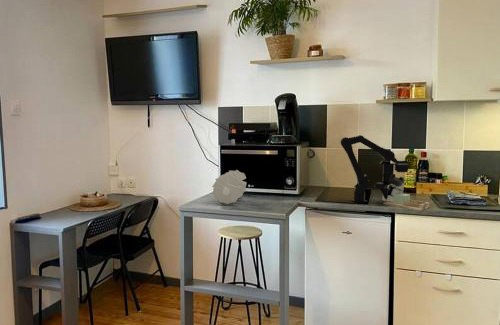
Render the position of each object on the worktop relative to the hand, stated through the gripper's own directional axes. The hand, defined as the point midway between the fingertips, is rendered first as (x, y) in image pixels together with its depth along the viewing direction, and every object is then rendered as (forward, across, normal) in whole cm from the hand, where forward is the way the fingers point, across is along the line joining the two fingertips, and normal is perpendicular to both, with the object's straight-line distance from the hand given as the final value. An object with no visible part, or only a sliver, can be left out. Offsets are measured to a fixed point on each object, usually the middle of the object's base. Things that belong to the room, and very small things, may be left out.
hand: (387, 198), depth 224 cm
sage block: (+1, 0, -5) cm, 5 cm away
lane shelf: (+2, 0, -12) cm, 12 cm away
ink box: (+2, +15, +4) cm, 16 cm away
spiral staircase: (+2, -65, +65) cm, 92 cm away
